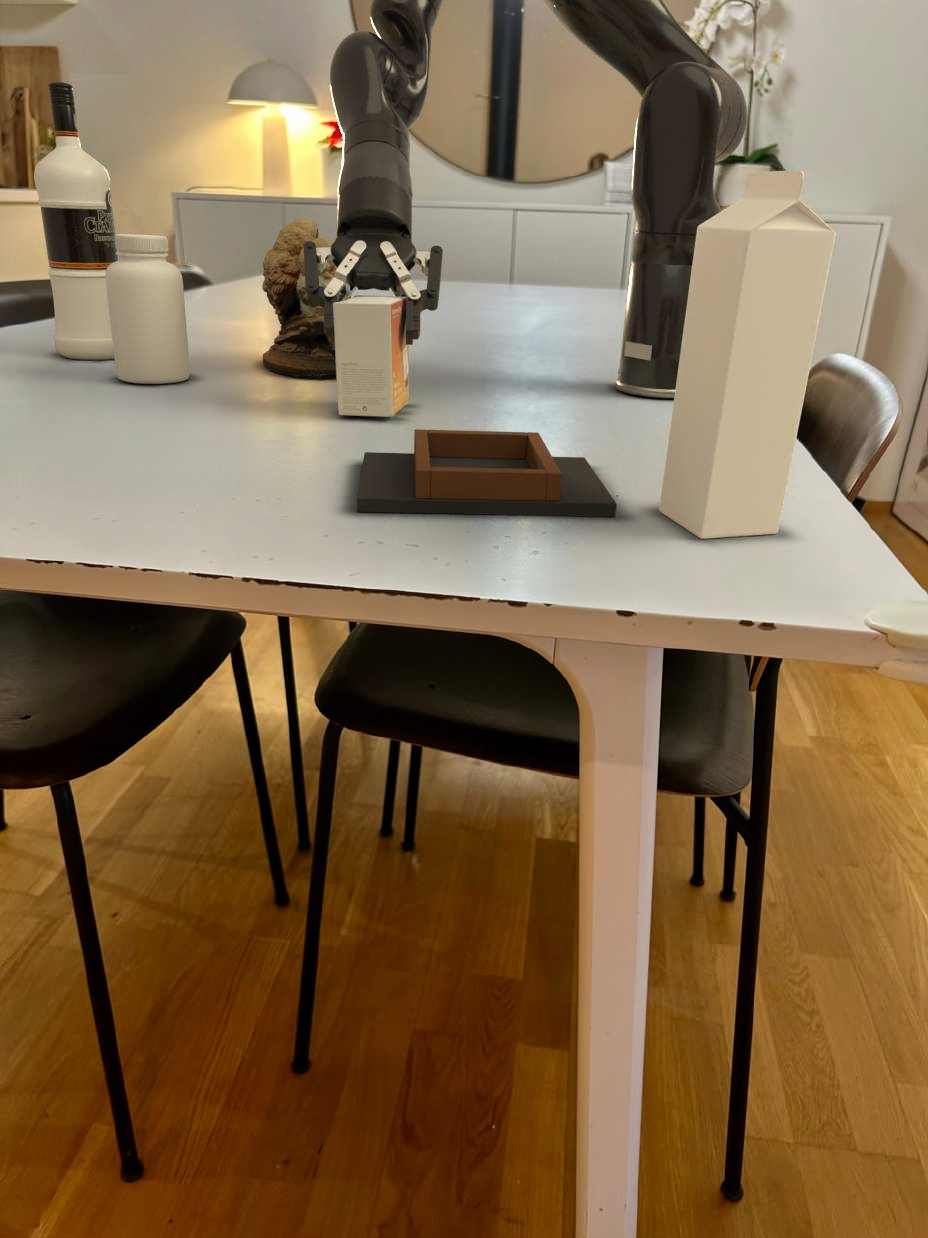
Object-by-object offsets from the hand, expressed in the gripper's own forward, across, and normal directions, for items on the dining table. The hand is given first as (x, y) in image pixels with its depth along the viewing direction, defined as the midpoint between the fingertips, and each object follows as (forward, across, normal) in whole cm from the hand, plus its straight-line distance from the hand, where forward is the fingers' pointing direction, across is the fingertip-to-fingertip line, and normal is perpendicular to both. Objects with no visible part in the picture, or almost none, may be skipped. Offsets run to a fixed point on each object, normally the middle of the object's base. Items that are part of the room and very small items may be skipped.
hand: (371, 338), depth 86 cm
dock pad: (+23, -9, +12) cm, 27 cm away
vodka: (-16, +36, -27) cm, 48 cm away
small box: (+4, 0, -6) cm, 7 cm away
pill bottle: (-6, +25, -16) cm, 30 cm away
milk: (+28, -25, +17) cm, 41 cm away
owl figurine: (-13, +8, -23) cm, 28 cm away
